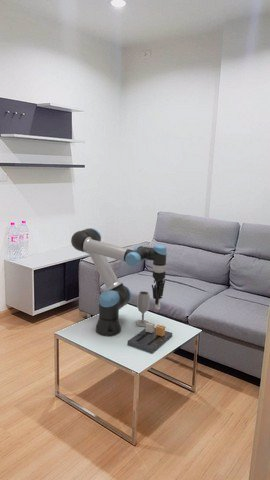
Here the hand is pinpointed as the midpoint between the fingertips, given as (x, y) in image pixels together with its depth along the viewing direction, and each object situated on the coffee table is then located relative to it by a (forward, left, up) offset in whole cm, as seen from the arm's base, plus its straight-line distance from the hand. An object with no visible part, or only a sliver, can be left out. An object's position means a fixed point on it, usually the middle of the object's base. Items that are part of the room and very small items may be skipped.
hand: (157, 308), depth 218 cm
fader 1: (0, -8, -12) cm, 14 cm away
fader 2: (+7, -8, -12) cm, 15 cm away
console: (+3, -13, -15) cm, 19 cm away
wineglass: (-12, +3, -15) cm, 19 cm away
